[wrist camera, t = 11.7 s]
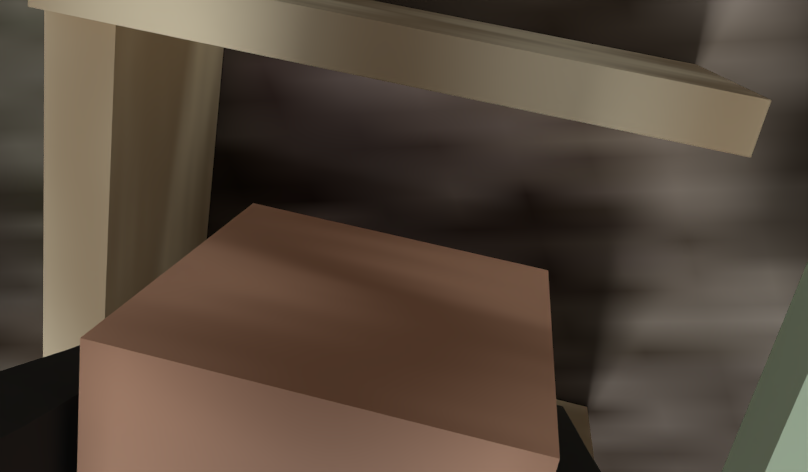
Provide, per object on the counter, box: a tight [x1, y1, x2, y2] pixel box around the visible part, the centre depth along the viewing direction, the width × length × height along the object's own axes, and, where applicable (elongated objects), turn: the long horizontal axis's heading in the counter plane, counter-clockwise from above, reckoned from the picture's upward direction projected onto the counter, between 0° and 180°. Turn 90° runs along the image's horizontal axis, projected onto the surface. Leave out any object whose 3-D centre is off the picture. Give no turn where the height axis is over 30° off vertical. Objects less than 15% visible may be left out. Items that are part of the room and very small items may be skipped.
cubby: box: [28, 0, 771, 459], centre depth 17 cm, size 14×11×6 cm
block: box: [77, 203, 560, 472], centre depth 10 cm, size 5×5×5 cm
